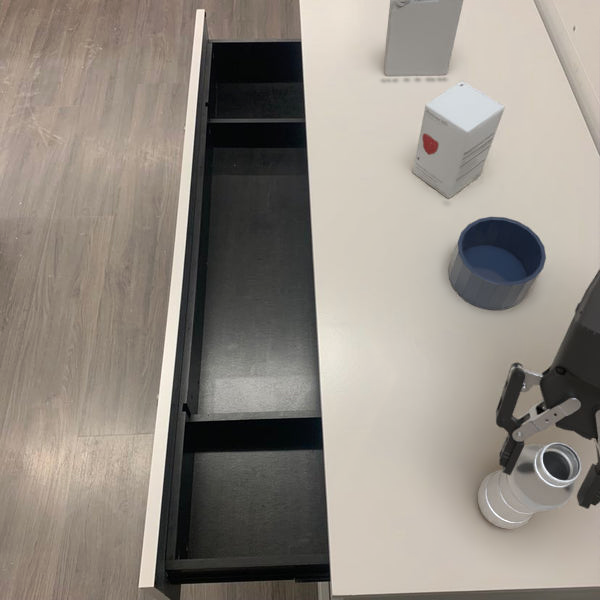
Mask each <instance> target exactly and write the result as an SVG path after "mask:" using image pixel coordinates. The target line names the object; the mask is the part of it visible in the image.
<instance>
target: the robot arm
mask: <svg viewBox="0 0 600 600" xmlns="http://www.w3.org/2000/svg"><path fill="white" fill-rule="evenodd" d="M534 386H539V390H540V393H541V396H542V399H541V400H539V401H538V402H537V403H535V404H533V405H531V407H529V409H528V410H527V411H525V413H523V414H522V415H520V416H519V417H516V416H514V412H515V409H516V407H517V403H518V401H519V398H520V395H521V393H527V392H529V391H530V389H532V387H534ZM495 423H496V425H497V426H498V427H499V428H501V429H503V430H504V431H506V432H507V435H506V437H505V440H504V442H503V444H502V446H501V449H500V450H499V453H498V455H499V456H498V457H499V466H501V470H502V472H503V473H505V474H507V475H511V473H512V471H513V469H514V467H515V465H516V462H517V460H518V458H519V456H520V454H521V452H522V450H523V447H524V446H525V441H526V440H527V439H528V438H530V437H532V436H533V435H534V434H537V433H538V432H543V431H545V430H547V429H548V428H550V427H551V426H553V425H555V427H556V428H559V429H561V430H564V431H568V432H570V431H571V432H574V433H576V434H577V435H579V436H580V437H582V438H583V439H587V440H589V441H592V439H593V441H594V445H595V453H596V458H597V462H596V464H595V463H592V464H591V466H590V467H589V469H588V472H587V473H586V475H585V477H584V479H583V481H582V483H581V485H580V487H579V489H578V490H577V494H576V499H577V503H578V506H579V507H581V508H584V509H586V510H588V509H590V507H591V505H592V506H594V507H595V506H597V505H598V504H600V268H598V270H597V272H596V274H595V276H594V278H593V279H592V281H590V284H589V285H588V286H587V288H586V289H585V292H584V293H583V296H582V297H581V300H580V301H579V302H578V303H577V305H576V307H575V310H574V315H573V317H572V319H571V321H570V324H569V325H568V328H567V330H566V332H565V334H564V337H563V339H562V341H561V344H560V346H559V348H558V350H557V352H556V355H555V356H554V359H553V362H552V363H551V365H550V366H549V367H548V368H546V370H544V371H542V372H538V371H535V370H531V369H529V368H525V367H524V365H523V364H522V363H520V362H513V363H512V364H510V368H509V370H508V372H507V377H506V379H505V382H504V385H503V389H502V391H501V394H500V397H499V401H498V403H497V406H496V409H495Z"/></svg>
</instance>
